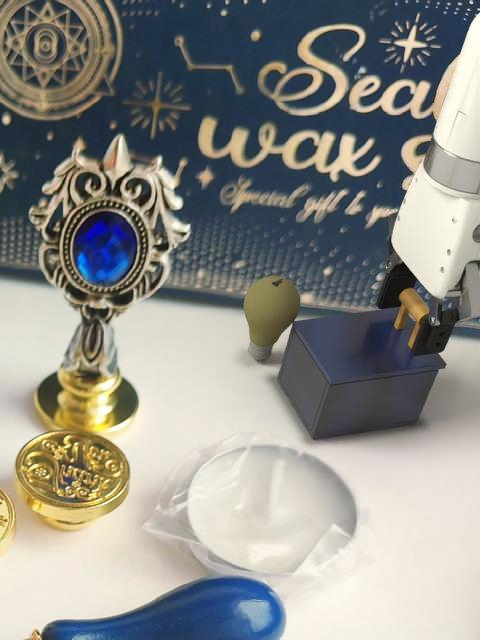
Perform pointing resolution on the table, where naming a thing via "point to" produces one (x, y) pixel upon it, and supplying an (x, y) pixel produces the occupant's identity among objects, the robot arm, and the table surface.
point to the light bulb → (269, 313)
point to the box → (349, 396)
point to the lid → (369, 342)
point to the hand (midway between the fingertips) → (408, 327)
